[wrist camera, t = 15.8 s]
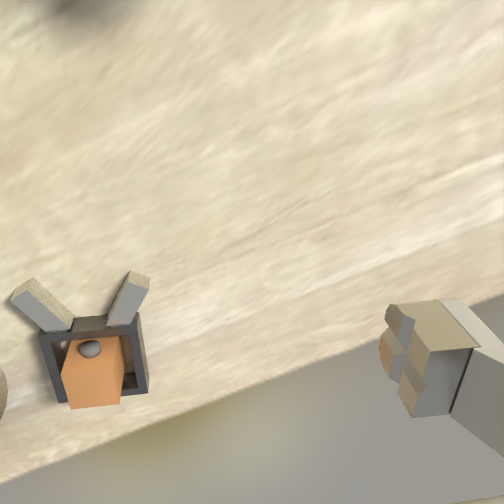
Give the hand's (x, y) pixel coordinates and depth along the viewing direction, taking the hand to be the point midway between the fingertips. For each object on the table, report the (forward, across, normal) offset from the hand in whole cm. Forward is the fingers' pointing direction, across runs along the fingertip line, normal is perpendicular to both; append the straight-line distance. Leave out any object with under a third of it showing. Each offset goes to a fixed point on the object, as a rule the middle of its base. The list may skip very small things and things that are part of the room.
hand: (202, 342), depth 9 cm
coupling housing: (+33, +11, +26) cm, 44 cm away
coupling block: (+33, +11, +29) cm, 46 cm away
